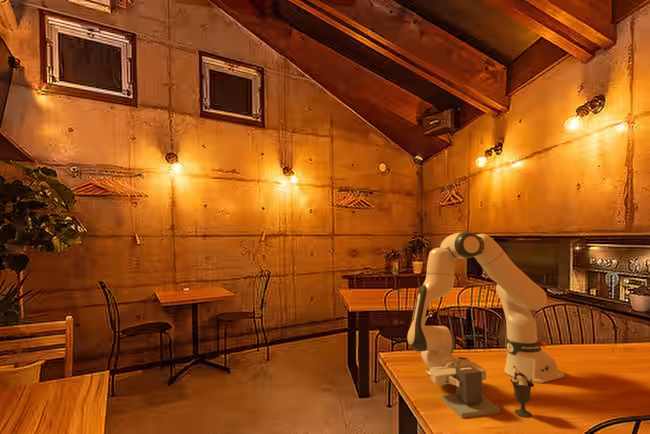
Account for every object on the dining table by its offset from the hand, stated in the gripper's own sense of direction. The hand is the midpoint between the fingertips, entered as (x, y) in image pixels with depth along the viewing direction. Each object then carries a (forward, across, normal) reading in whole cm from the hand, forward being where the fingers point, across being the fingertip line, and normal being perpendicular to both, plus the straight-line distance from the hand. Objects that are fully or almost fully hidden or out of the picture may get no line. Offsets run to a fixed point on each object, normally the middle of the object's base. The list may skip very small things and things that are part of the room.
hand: (470, 383), depth 115 cm
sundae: (+7, +14, +8) cm, 18 cm away
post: (-1, 0, +8) cm, 8 cm away
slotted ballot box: (-1, 0, +6) cm, 6 cm away
